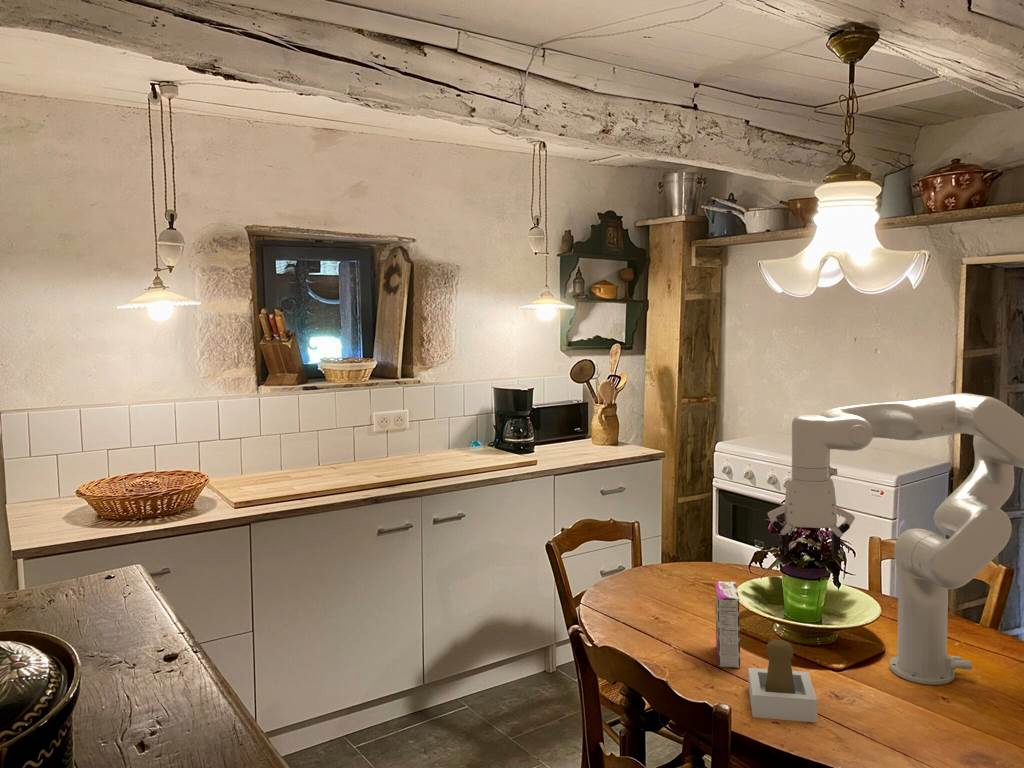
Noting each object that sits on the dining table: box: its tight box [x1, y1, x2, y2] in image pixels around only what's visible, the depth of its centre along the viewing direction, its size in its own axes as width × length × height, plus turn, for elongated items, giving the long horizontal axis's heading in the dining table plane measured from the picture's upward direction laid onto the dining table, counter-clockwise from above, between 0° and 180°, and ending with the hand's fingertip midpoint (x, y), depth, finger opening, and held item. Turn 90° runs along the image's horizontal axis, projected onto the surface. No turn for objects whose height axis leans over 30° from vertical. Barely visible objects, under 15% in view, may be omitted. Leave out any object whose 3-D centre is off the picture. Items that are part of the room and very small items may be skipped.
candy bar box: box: [714, 580, 741, 669], centre depth 178 cm, size 11×5×16 cm, turn 168°
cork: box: [765, 639, 795, 694], centre depth 157 cm, size 6×6×11 cm
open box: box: [747, 667, 818, 723], centre depth 157 cm, size 12×12×5 cm
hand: (810, 552), depth 164 cm, fingers open, 9 cm apart
